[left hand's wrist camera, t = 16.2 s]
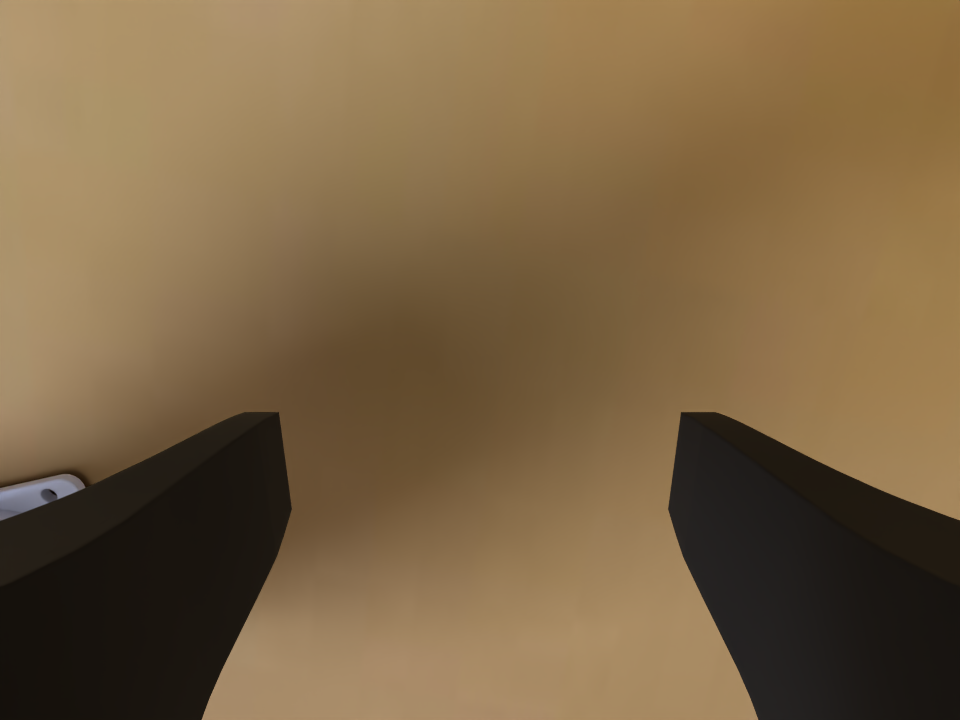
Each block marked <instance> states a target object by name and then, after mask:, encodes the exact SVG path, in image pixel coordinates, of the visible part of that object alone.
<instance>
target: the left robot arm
mask: <svg viewBox="0 0 960 720" xmlns="http://www.w3.org/2000/svg"><path fill="white" fill-rule="evenodd" d="M49 489H50V490H52V491H54V492H55V493H56V494H57V496H56V495H54V494H52V493H51V492H50V490H49ZM291 510H292V507H291V500H290V492H289V485H288V477H287V470H286V462H285V455H284V447H283V440H282V432H281V425H280V417H279V412H244V413H241V414H238V415H235V416H233V417H231V418H228V419H226V420H224V421H222V422H220V423H218V424H215V425H213V426H211V427H209V428H207V429H205V430H203V431H201V432H200V433H198V434H196V435H194V436H192V437H190V438H188V439H186V440H184V441H182V442H180V443H178V444H176V445H174V446H172V447H170V448H168V449H166V450H164V451H162V452H160V453H158V454H156V455H154V456H152V457H150V458H148V459H146V460H144V461H142V462H140V463H138V464H136V465H134V466H131V467H129V468H127V469H125V470H123V471H121V472H119V473H117V474H114V475H112V476H110V477H108V478H106V479H104V480H102V481H100V482H97V483H95V484H93V485H91V486H88V487H86V488H85V486H84V484H83V483H82V481H81V480H80V479H79V478H77V477H76V476H73V475H70V474H61V475H57V476H52V477H48V478H43V479H39V480H34V481H30V482H25V483H21V484H16V485H12V486H7V487H3V488H0V720H202V717H203V714H204V711H205V709H206V706H207V703H208V701H209V698H210V696H211V693H212V691H213V689H214V686H215V684H216V682H217V680H218V677H219V675H220V673H221V671H222V668H223V666H224V664H225V662H226V660H227V658H228V656H229V654H230V652H231V650H232V648H233V646H234V644H235V642H236V640H237V638H238V636H239V634H240V632H241V630H242V628H243V626H244V624H245V622H246V620H247V618H248V615H249V613H250V611H251V609H252V607H253V605H254V603H255V601H256V599H257V597H258V595H259V593H260V591H261V589H262V587H263V585H264V583H265V581H266V578H267V576H268V574H269V572H270V570H271V568H272V566H273V564H274V562H275V559H276V557H277V554H278V551H279V548H280V545H281V542H282V539H283V537H284V533H285V530H286V527H287V523H288V520H289V517H290V513H291ZM668 510H669V513H670V517H671V520H672V523H673V527H674V530H675V533H676V537H677V539H678V542H679V545H680V548H681V551H682V554H683V557H684V559H685V562H686V564H687V566H688V568H689V570H690V572H691V574H692V576H693V578H694V581H695V583H696V585H697V587H698V589H699V591H700V593H701V595H702V597H703V599H704V601H705V603H706V605H707V607H708V609H709V611H710V613H711V615H712V618H713V620H714V622H715V624H716V626H717V628H718V630H719V632H720V634H721V636H722V638H723V640H724V642H725V644H726V646H727V648H728V650H729V652H730V654H731V656H732V658H733V660H734V662H735V664H736V666H737V668H738V671H739V673H740V675H741V677H742V680H743V682H744V684H745V686H746V689H747V691H748V693H749V696H750V698H751V701H752V703H753V706H754V709H755V711H756V714H757V717H758V720H960V520H957V519H954V518H951V517H948V516H946V515H943V514H940V513H938V512H935V511H932V510H930V509H927V508H925V507H922V506H919V505H917V504H914V503H911V502H909V501H906V500H903V499H901V498H898V497H896V496H893V495H891V494H889V493H886V492H884V491H881V490H879V489H877V488H874V487H872V486H870V485H868V484H865V483H863V482H861V481H859V480H857V479H854V478H852V477H850V476H848V475H846V474H843V473H841V472H839V471H837V470H835V469H833V468H831V467H828V466H826V465H824V464H822V463H820V462H818V461H816V460H814V459H812V458H810V457H808V456H806V455H804V454H802V453H800V452H798V451H796V450H794V449H792V448H790V447H788V446H786V445H784V444H782V443H780V442H778V441H776V440H775V439H773V438H771V437H769V436H767V435H765V434H763V433H761V432H759V431H757V430H755V429H753V428H751V427H749V426H747V425H745V424H743V423H741V422H739V421H736V420H734V419H732V418H730V417H727V416H725V415H722V414H719V413H716V412H681V417H680V425H679V432H678V440H677V447H676V455H675V462H674V470H673V477H672V485H671V492H670V500H669V507H668Z"/></svg>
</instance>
